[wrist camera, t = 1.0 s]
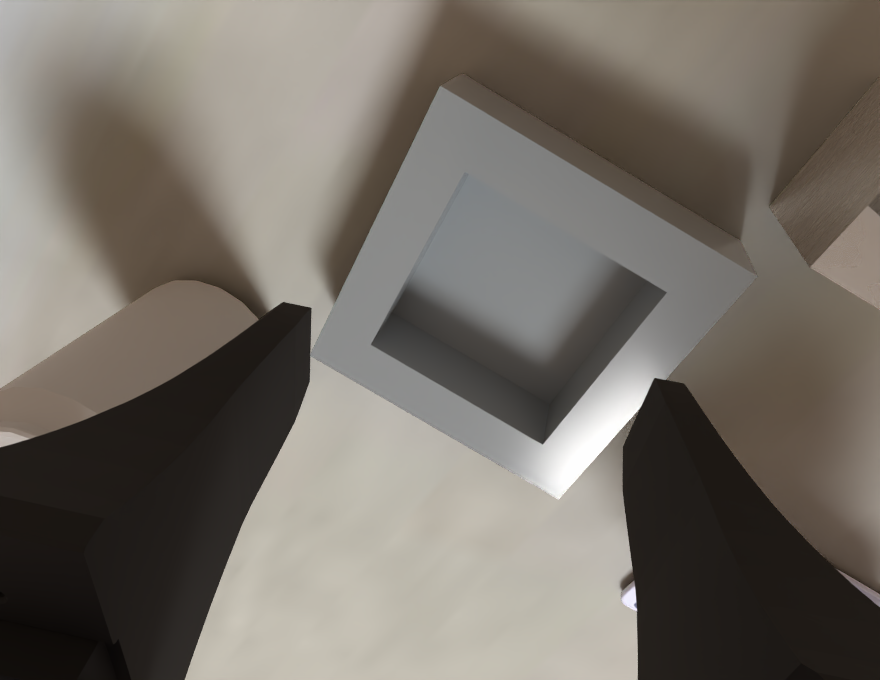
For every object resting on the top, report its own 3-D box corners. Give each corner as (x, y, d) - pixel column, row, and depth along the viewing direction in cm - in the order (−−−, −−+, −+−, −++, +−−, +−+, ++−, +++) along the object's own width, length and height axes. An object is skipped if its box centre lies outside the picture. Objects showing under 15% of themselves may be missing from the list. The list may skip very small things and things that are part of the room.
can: (157, 246, 31) (-74, 377, 21) (302, 314, 31) (142, 480, 20) (138, 367, 35) (-65, 529, 24) (266, 429, 35) (117, 617, 24)
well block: (741, 240, 25) (757, 276, 22) (564, 449, 31) (558, 499, 28) (462, 73, 24) (440, 85, 21) (340, 318, 30) (309, 355, 27)
